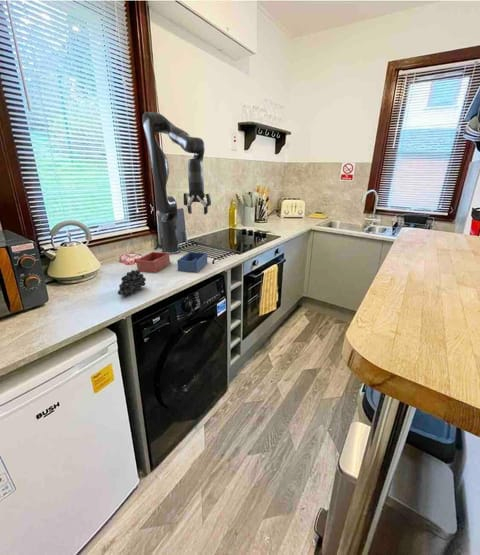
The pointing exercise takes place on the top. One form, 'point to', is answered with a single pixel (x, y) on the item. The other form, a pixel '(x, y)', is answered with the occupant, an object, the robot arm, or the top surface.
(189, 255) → the blue bin
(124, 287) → the fruit
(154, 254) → the red bin
